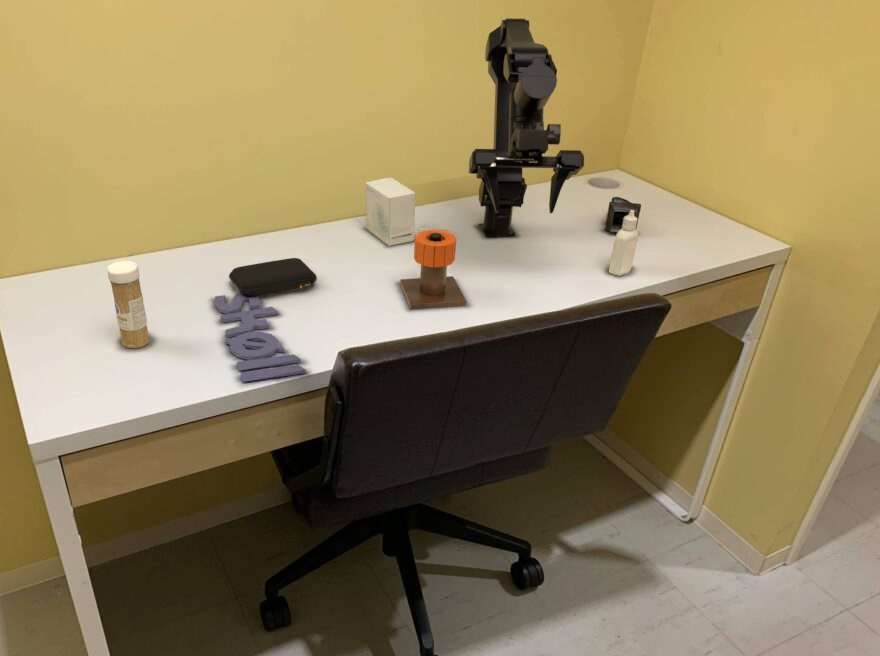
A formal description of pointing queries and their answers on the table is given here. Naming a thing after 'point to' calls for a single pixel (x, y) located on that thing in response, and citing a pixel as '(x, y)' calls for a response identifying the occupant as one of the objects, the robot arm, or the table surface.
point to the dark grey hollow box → (620, 213)
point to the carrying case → (272, 277)
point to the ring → (434, 249)
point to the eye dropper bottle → (624, 246)
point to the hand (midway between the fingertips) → (524, 212)
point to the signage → (254, 340)
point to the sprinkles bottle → (129, 303)
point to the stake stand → (432, 287)
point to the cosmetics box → (390, 211)
